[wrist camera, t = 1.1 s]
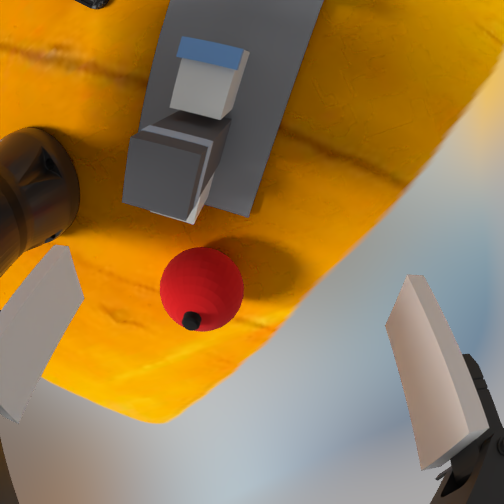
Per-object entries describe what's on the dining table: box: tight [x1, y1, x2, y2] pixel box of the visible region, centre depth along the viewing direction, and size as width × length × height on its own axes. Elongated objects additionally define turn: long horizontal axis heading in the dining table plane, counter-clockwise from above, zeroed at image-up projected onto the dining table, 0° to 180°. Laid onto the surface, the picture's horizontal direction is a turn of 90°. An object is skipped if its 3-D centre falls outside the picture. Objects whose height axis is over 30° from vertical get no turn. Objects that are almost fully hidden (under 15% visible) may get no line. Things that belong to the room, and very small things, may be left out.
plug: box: [122, 110, 232, 221], centre depth 24 cm, size 5×5×12 cm
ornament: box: [160, 247, 244, 331], centre depth 34 cm, size 9×9×10 cm
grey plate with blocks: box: [138, 0, 324, 225], centre depth 23 cm, size 13×26×8 cm, turn 164°
